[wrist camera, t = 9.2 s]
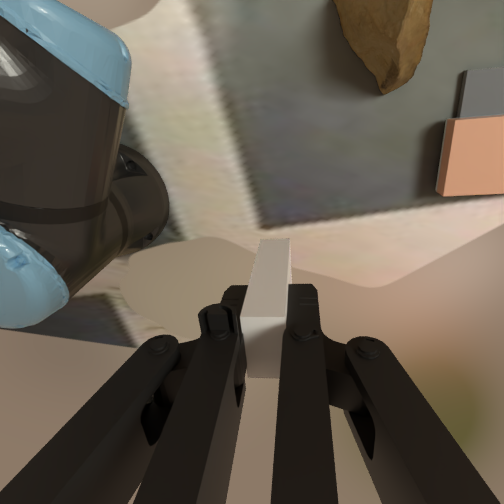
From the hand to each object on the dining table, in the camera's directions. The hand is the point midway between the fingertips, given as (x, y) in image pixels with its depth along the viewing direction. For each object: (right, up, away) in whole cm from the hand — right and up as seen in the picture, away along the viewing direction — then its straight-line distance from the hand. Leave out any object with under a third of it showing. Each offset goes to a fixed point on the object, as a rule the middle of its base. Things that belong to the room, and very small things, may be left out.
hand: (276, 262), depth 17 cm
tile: (+20, +11, +19) cm, 30 cm away
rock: (+11, +23, +17) cm, 31 cm away
